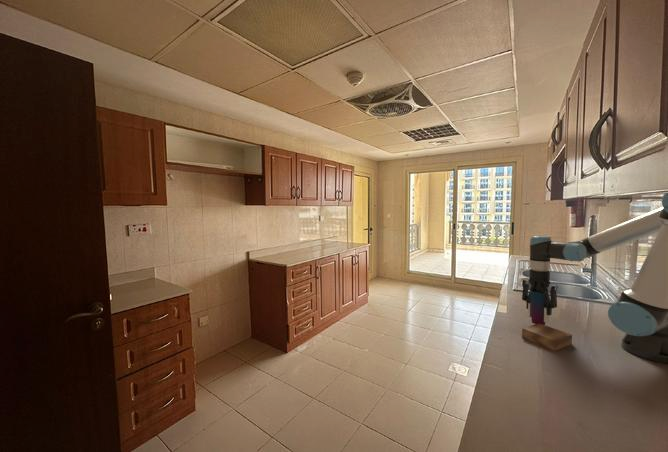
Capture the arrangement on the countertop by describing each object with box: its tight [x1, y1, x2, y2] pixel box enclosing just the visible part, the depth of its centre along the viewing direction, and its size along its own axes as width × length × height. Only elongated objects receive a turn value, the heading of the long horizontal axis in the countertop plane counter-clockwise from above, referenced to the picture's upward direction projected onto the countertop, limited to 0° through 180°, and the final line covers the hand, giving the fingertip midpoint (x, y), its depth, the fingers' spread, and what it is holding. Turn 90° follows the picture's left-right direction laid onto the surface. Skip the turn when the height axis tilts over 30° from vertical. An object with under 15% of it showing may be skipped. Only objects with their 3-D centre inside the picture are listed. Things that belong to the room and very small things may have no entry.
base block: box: [521, 323, 573, 352], centre depth 111 cm, size 12×12×4 cm
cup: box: [529, 289, 549, 325], centre depth 124 cm, size 7×7×15 cm
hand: (538, 318), depth 124 cm, fingers closed on cup, 6 cm apart
